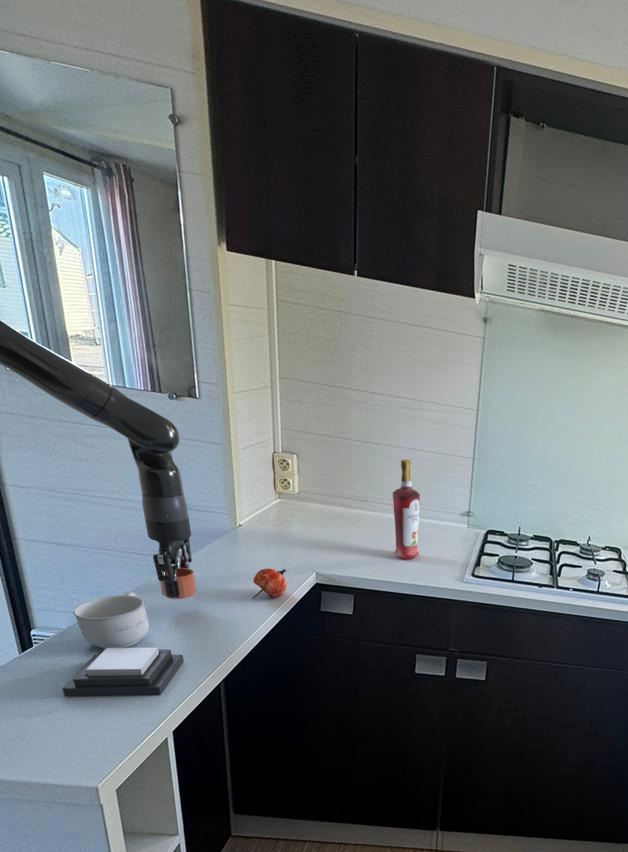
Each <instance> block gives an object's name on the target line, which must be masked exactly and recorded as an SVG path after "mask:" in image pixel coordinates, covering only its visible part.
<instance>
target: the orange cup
mask: <svg viewBox="0 0 628 852" xmlns="http://www.w3.org/2000/svg"><path fill="white" fill-rule="evenodd" d="M172 571H173V570H172ZM167 575H168V572H167ZM195 577H196V576H195V572H194V570H193V569H192V568H180V570H178V572H177V578H178V579H177V580H178V585H179V591H180V596H179V597H168V596H167V592H166V587H165V581H159V585H160V589H161V590H160V591H161V594H162V596H164V597H165V598H167V599H172V600H182V599H188V598H190V597H191V598H192V597H193V596H194V595H195V594H196V593H197V585H196V579H195Z"/></svg>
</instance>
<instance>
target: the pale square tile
mask: <svg viewBox="0 0 628 852" xmlns="http://www.w3.org/2000/svg"><path fill="white" fill-rule="evenodd" d="M158 649H159V648H158V647H125V648H106V649H105V650H104V651H103V652H102V653H101V654H100V655H99V656H98V657H97V658H96V660H95V661H94V662H93V663H92V664H91V665H90V666H89V667H88V668H87V669H86V672H87V676H134V675H144V674H145V673H146V671H147V670H148V669H149V668H150V666H151V665H152V664H153V662H154V661H155V660H156V659H157V657H158V656H159V651H158Z"/></svg>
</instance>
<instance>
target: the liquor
mask: <svg viewBox="0 0 628 852" xmlns="http://www.w3.org/2000/svg"><path fill="white" fill-rule="evenodd" d="M400 468H401V478H400V479H401V481H400V487H399V488H397V489H395V490H394V491H393V492H392V504H393V506H392V507H393V518H394V532H395V534H394V535H395V551H394V554H395V556H396V557H398V558H399V559H400V560H406V561H409V560H413V559H415V558H416V557H417V556H419V554H420V552H419V550H418V539H419V538H418V537H419V517H420V502H421V501H420V500H421V499H420V498H421V494H420V493H419V491H417V490H416V489H413V485H412V476H411V469H412V460H409V459H401V460H400Z"/></svg>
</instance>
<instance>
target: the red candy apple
mask: <svg viewBox="0 0 628 852" xmlns="http://www.w3.org/2000/svg"><path fill="white" fill-rule="evenodd" d="M286 572H287V569H286V568H284V569H282V570H276V569H273V568H263V569H259V571H257V573H256V574H255V575H254V577H253V579H252V580H253V581H252V582H253V583H254V584H255V585H256V586H258V587H259V588H260V591H258V592H257V593H256V594H254V596H252V597H251V600H254V599H255V598H256V597H257V596H259V595H260V594H261V593H262V592H264V593H265V594H266V595H268V596H269V597H270V598H271V599H278V598H280V597H281V596H283V595H284V594H285V593H286V590H287V587H288V582H287V580H286V578H285V576H284V574H285V573H286Z"/></svg>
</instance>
